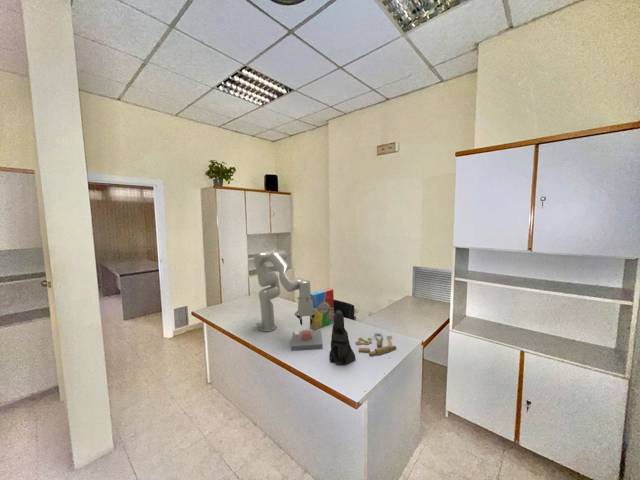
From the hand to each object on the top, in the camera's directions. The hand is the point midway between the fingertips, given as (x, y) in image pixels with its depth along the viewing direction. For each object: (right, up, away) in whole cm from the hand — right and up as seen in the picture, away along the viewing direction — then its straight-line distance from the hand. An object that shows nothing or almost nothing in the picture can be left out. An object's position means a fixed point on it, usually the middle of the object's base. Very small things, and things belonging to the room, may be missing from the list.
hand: (306, 324), depth 172 cm
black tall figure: (+22, -14, -21) cm, 33 cm away
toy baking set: (+47, -12, -5) cm, 48 cm away
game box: (+11, -10, +27) cm, 31 cm away
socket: (+1, -12, +1) cm, 13 cm away
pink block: (0, -12, +1) cm, 13 cm away
